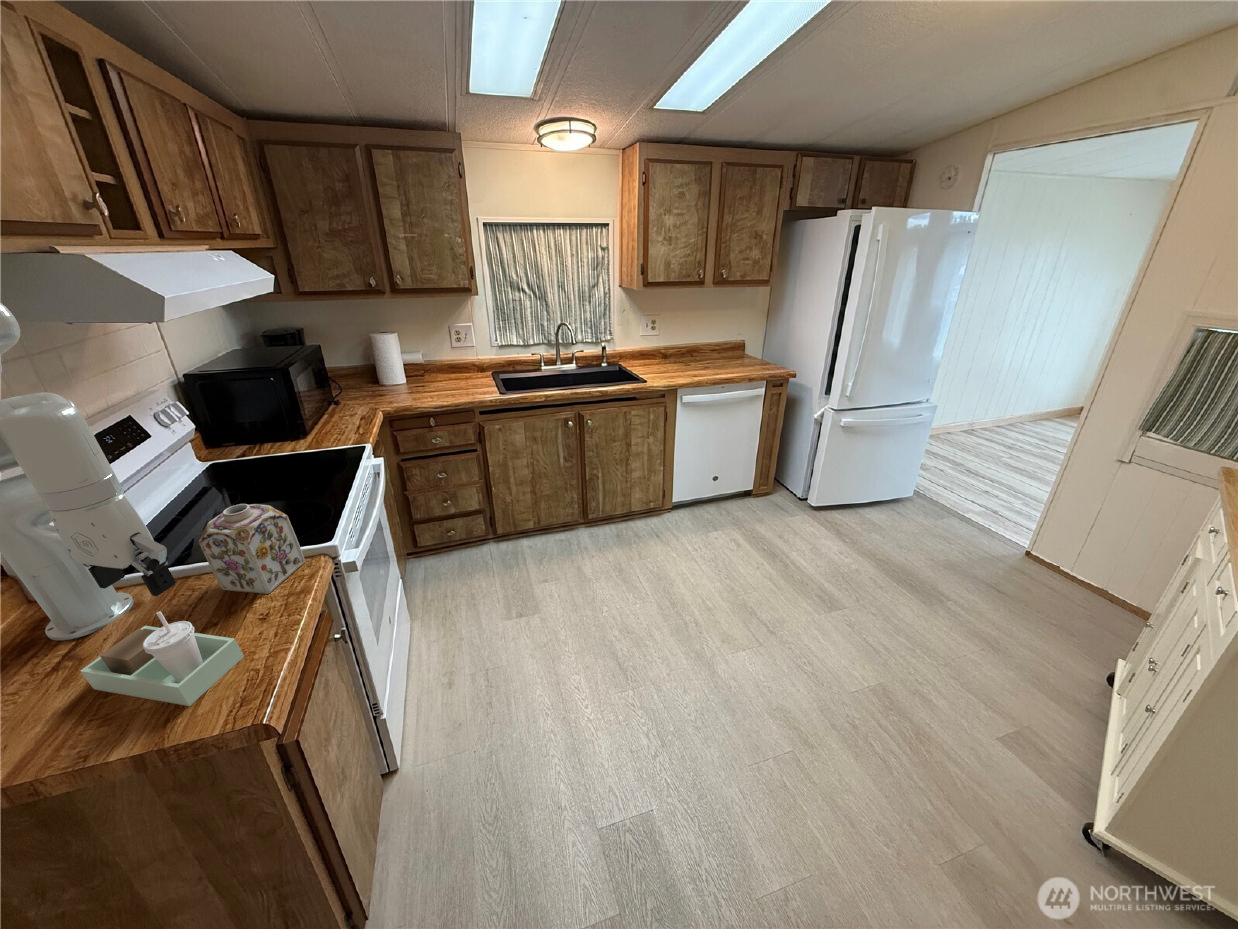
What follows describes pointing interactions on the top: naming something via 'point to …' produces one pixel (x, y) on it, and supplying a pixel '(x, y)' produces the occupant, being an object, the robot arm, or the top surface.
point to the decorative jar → (251, 548)
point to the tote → (159, 682)
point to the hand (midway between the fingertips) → (138, 586)
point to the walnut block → (128, 654)
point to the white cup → (174, 648)
